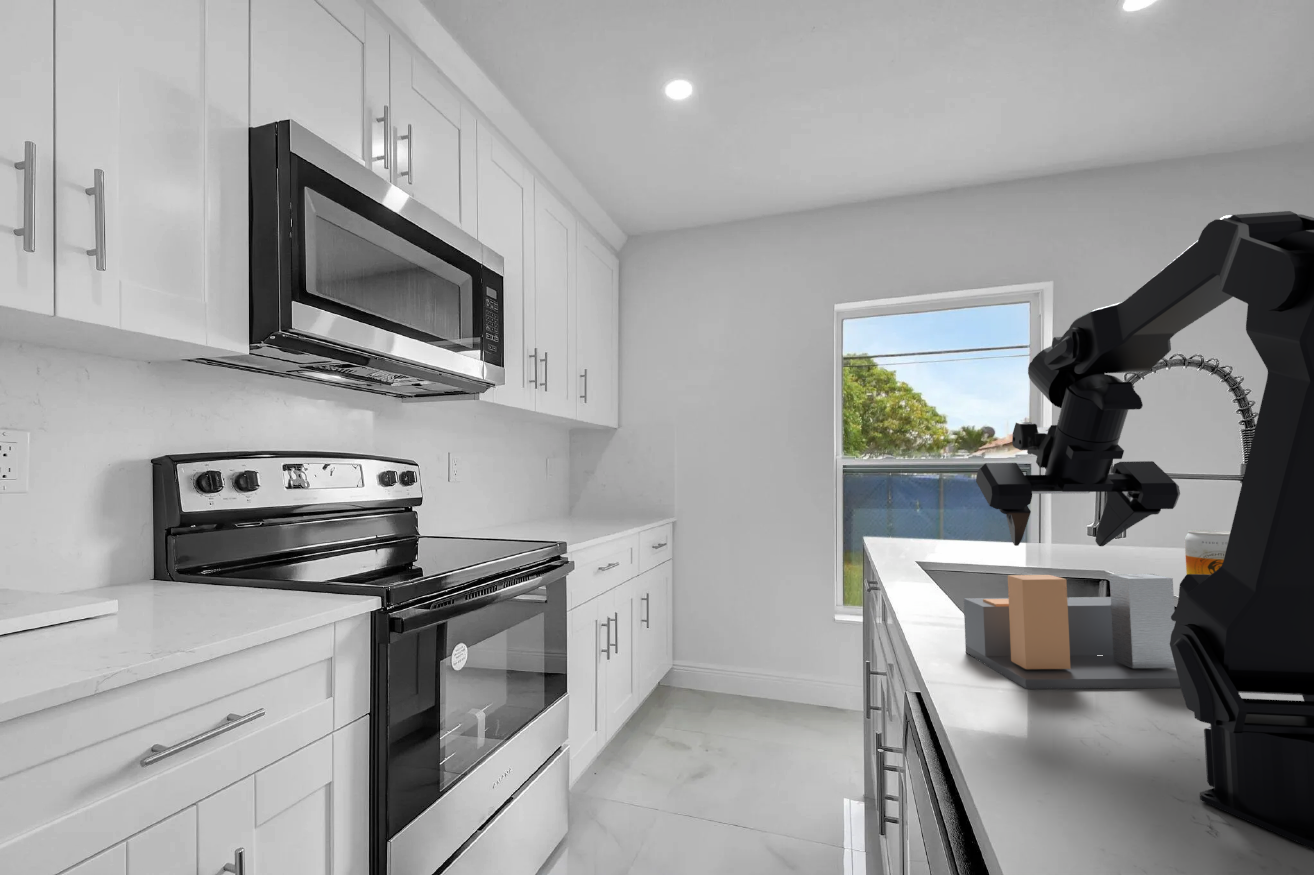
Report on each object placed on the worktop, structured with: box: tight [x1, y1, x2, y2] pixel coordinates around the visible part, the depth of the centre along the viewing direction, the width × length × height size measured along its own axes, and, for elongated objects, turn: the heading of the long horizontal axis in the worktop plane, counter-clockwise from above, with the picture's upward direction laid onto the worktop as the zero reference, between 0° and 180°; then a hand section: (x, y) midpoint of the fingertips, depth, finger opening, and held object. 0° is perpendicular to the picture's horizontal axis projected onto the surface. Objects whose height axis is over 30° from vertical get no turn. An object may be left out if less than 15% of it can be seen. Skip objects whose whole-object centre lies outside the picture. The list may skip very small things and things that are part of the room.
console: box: [963, 596, 1181, 690], centre depth 75 cm, size 14×20×7 cm
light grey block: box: [1109, 573, 1176, 668], centre depth 72 cm, size 3×5×10 cm, turn 89°
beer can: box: [1184, 529, 1231, 575], centre depth 85 cm, size 6×6×15 cm
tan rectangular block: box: [1007, 574, 1071, 669], centre depth 72 cm, size 3×5×10 cm, turn 89°
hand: (1056, 543), depth 74 cm, fingers open, 9 cm apart
